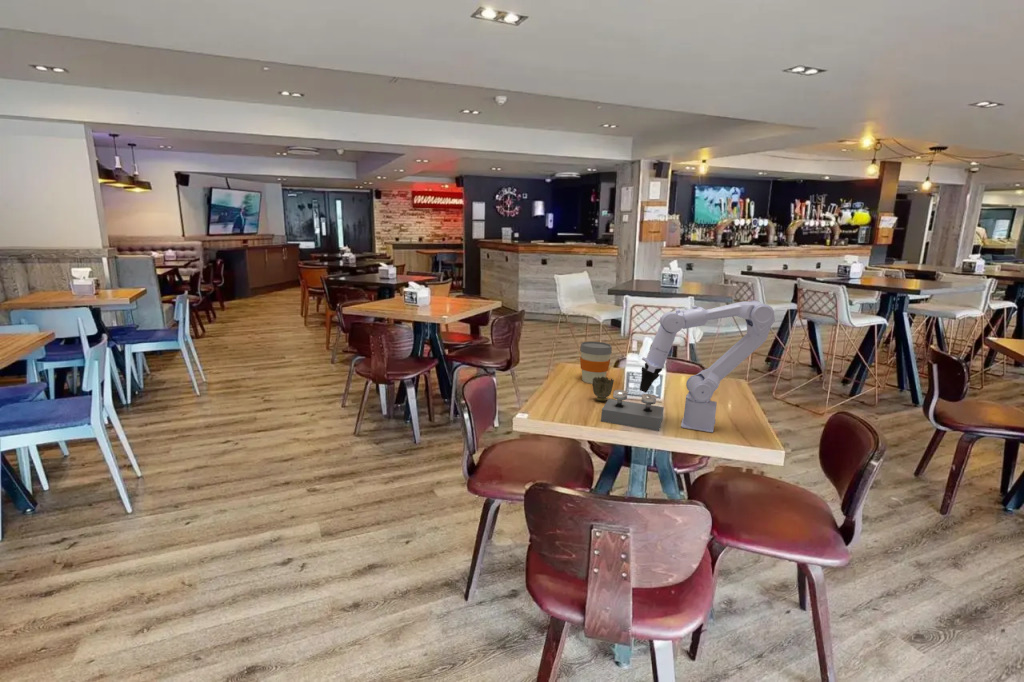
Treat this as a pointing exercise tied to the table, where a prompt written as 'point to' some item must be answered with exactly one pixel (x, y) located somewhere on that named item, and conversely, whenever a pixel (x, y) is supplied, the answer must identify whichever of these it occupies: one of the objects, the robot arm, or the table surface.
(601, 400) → the cup
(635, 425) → the knob mount
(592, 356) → the reusable coffee cup
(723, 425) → the table surface
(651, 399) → the knob near
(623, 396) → the knob outer
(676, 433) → the table surface
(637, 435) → the table surface
